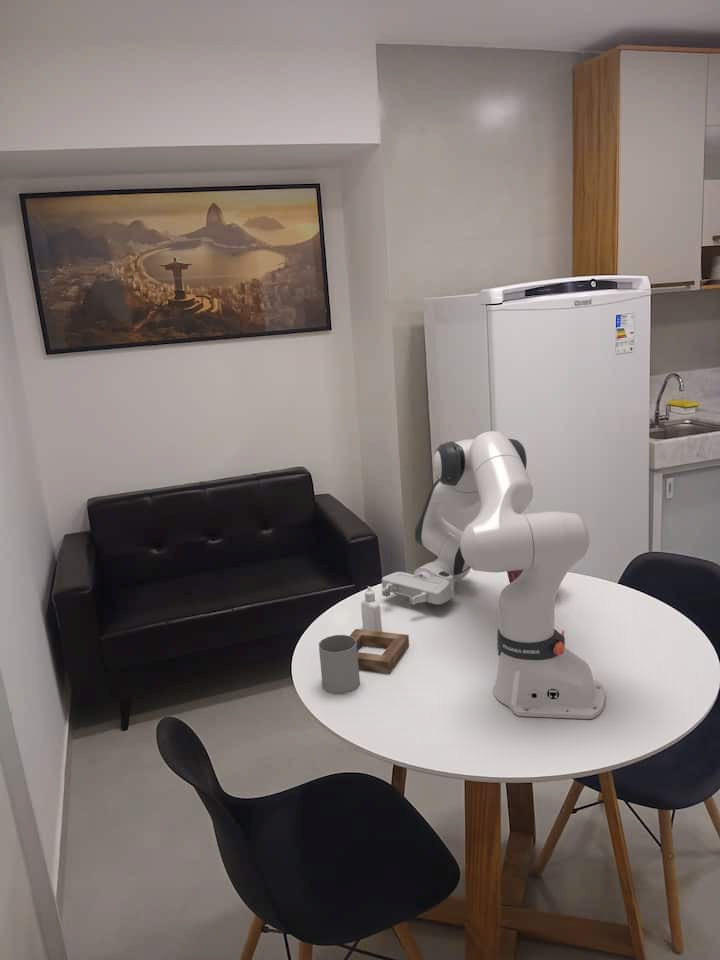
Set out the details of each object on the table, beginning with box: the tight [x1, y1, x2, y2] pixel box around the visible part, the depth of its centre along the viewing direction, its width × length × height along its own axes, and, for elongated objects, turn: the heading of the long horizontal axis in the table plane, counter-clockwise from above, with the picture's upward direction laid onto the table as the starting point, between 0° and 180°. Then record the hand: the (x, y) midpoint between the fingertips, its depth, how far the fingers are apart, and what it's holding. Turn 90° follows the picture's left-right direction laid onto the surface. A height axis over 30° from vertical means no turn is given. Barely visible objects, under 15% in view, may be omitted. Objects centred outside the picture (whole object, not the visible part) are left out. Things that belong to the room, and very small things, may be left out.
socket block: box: [349, 628, 410, 675], centre depth 174 cm, size 14×14×3 cm
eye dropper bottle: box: [360, 586, 383, 632], centre depth 186 cm, size 4×6×12 cm
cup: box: [318, 634, 361, 695], centre depth 161 cm, size 8×8×10 cm
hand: (397, 597), depth 193 cm, fingers open, 8 cm apart
